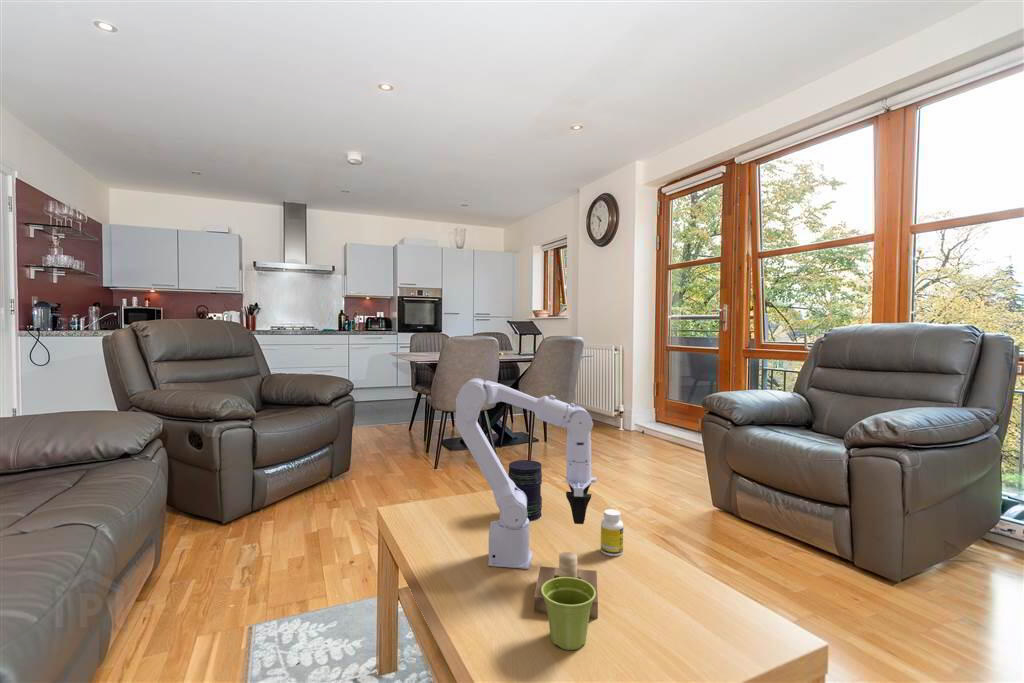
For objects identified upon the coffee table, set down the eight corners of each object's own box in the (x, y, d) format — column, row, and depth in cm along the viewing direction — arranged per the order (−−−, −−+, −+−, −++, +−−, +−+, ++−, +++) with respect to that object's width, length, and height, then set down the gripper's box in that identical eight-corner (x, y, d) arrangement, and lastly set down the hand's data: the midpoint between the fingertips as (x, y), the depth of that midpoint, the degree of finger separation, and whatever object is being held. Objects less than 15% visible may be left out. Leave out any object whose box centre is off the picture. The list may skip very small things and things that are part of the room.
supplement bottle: (623, 558, 113) (623, 517, 112) (600, 555, 114) (600, 515, 114) (622, 547, 118) (623, 508, 118) (600, 546, 119) (600, 507, 119)
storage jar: (505, 520, 135) (505, 468, 135) (510, 508, 145) (510, 459, 145) (540, 522, 134) (540, 469, 134) (543, 509, 144) (543, 460, 143)
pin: (559, 599, 94) (559, 559, 94) (558, 590, 98) (559, 551, 97) (577, 600, 94) (577, 560, 94) (576, 591, 97) (576, 552, 97)
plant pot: (537, 624, 87) (537, 577, 87) (588, 621, 88) (588, 575, 88) (545, 659, 78) (545, 606, 78) (601, 655, 78) (602, 604, 78)
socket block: (534, 612, 91) (534, 596, 91) (540, 580, 103) (540, 566, 102) (597, 618, 89) (597, 602, 89) (596, 584, 101) (596, 570, 101)
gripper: (596, 468, 103) (597, 530, 103) (595, 452, 117) (595, 506, 118) (564, 467, 104) (564, 528, 104) (567, 451, 118) (567, 505, 119)
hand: (579, 516), depth 111 cm, fingers open, 7 cm apart
